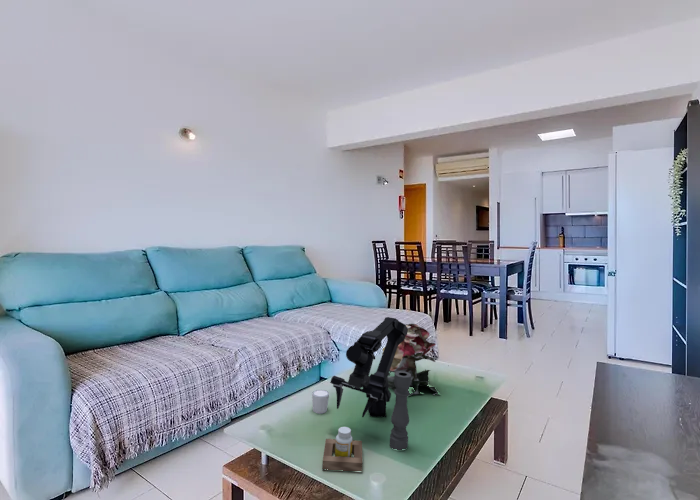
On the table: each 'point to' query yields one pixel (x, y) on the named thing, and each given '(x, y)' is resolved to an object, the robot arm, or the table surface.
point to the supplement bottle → (343, 443)
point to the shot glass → (320, 401)
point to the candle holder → (400, 411)
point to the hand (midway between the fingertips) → (349, 413)
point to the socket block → (342, 462)
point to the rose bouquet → (412, 357)
